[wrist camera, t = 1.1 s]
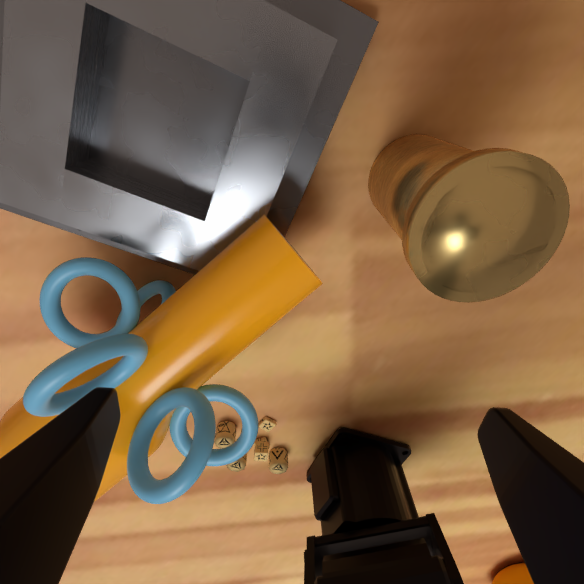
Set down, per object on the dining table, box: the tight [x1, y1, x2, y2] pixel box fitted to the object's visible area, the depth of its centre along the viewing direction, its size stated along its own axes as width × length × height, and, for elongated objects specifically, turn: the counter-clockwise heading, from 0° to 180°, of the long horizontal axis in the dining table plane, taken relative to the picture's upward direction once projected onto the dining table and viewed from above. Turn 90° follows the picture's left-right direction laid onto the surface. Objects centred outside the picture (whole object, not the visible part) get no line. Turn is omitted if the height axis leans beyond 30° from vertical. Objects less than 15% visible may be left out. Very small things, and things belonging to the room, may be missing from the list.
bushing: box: [368, 134, 570, 302], centre depth 16 cm, size 5×5×8 cm
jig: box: [0, 0, 378, 275], centre depth 16 cm, size 14×14×3 cm
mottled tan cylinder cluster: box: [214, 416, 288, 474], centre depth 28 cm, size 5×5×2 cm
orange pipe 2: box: [0, 215, 323, 504], centre depth 17 cm, size 12×10×15 cm
